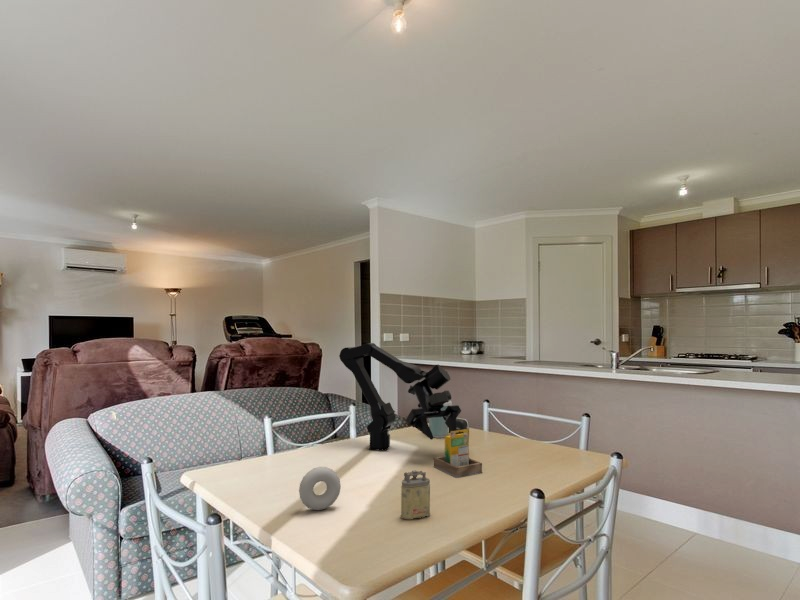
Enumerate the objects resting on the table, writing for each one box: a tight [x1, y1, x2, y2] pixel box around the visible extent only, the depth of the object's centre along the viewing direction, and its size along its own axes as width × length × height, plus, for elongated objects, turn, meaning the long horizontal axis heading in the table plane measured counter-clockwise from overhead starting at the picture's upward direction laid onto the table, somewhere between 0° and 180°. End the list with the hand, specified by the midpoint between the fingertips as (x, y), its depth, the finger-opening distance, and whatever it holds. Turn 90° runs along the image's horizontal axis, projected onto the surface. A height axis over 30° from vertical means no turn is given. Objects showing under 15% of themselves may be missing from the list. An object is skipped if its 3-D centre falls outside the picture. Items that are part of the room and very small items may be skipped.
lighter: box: [400, 469, 431, 520], centre depth 107 cm, size 7×4×10 cm, turn 112°
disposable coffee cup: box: [427, 399, 453, 439], centre depth 184 cm, size 11×11×15 cm
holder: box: [433, 455, 483, 479], centre depth 141 cm, size 10×12×3 cm
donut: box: [298, 466, 342, 511], centre depth 110 cm, size 10×4×10 cm, turn 113°
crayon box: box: [444, 428, 470, 467], centre depth 142 cm, size 7×3×12 cm, turn 122°
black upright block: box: [448, 417, 470, 437], centre depth 161 cm, size 7×4×11 cm, turn 47°
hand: (444, 437), depth 147 cm, fingers open, 9 cm apart
